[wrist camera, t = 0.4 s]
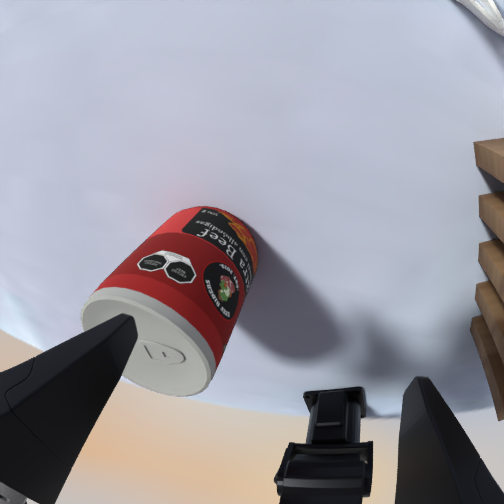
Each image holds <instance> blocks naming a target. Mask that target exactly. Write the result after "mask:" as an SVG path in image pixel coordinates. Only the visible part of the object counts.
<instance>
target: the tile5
mask: <svg viewBox="0 0 504 504" xmlns="http://www.w3.org/2000/svg"><path fill="white" fill-rule="evenodd" d="M473 143H474V150H475V158H476V165H477V166H478V167H480V168H481V169H483V170H485V171H486V172H488V173H489V174H491V175H492V176H494V177H495V178H497V179H498V180H500V181H501V182H502V183H504V138H500V139H492V140H485V141H478V142H473Z"/></svg>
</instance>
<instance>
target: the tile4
mask: <svg viewBox="0 0 504 504" xmlns="http://www.w3.org/2000/svg"><path fill="white" fill-rule="evenodd" d="M479 217H480V218H481V219H482V220H483V221H484V222H485V223H486V224H487V225H488V226H489V228H490V229H491V230H492V231H493V232H494V233H495V234H496V235H497V236H498V238H499V239H500V240H501V241H502V242H503V243H504V191H500V192H495V193H490V194H485V195H479Z"/></svg>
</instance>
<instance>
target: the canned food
mask: <svg viewBox="0 0 504 504" xmlns="http://www.w3.org/2000/svg"><path fill="white" fill-rule="evenodd" d="M257 263H258V257H257V249H256V245H255V241H254V238H253V237H252V235H251V233H250V231H249V230H248V229H247V227H246V226H245V225H244V224H243V223H242V222H241V221H240V220H239V219H237V218H236V217H235V216H233V215H232V214H230V213H228V212H226V211H224V210H221V209H218V208H214V207H208V206H198V207H193V208H189V209H185V210H182V211H180V212H178V213H176V214H174V215H173V216H172V217H171V218H169V219H168V220H167V221H166V222H165V223H164V224H163V225H162V226H160V227H159V228H158V229H157V230H156V231H155V232H154V233H153V234H152V235H151V236H150V237H149V238H147V239H146V240H145V241H144V242H143V243H142V244H141V245H140V246H139V247H138V248H137V249H136V250H135V251H134V252H133V253H132V254H131V255H130V256H129V257H127V258H126V259H125V260H124V261H123V262H122V263H121V264H120V265H119V266H118V267H117V268H116V269H115V270H114V271H113V272H112V273H111V274H110V275H109V276H108V277H107V278H106V279H105V280H104V281H103V282H102V283H101V284H100V286H99V287H98V288H97V289H96V290H95V291H94V292H93V293H92V294H91V295H90V297H89V299H88V300H87V301H86V303H85V304H84V306H83V308H82V310H81V322H82V327H83V330H84V332H85V331H87V330H89V329H91V328H93V327H95V326H97V325H99V324H101V323H103V322H105V321H107V320H109V319H111V318H113V317H115V316H117V315H119V314H121V313H125V314H128V315H131V316H133V317H134V319H135V323H136V327H137V331H138V339H137V342H136V344H135V346H134V348H133V351H132V353H131V355H130V357H129V360H128V362H127V364H126V367H125V369H124V371H123V373H122V376H124V377H125V378H127V379H128V380H130V381H132V382H133V383H135V384H137V385H139V386H142V387H144V388H146V389H149V390H151V391H154V392H157V393H161V394H165V395H170V396H192V395H196V394H198V393H201V392H203V391H204V390H205V389H206V388H207V387H208V385H209V383H210V381H211V380H212V379H213V377H214V374H215V372H216V370H217V367H218V365H219V363H220V361H221V358H222V356H223V353H224V351H225V348H226V346H227V343H228V341H229V338H230V336H231V333H232V331H233V328H234V326H235V323H236V321H237V318H238V316H239V313H240V311H241V308H242V305H243V303H244V300H245V298H246V295H247V293H248V290H249V288H250V285H251V283H252V280H253V277H254V275H255V272H256V270H257Z"/></svg>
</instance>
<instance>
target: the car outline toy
mask: <svg viewBox="0 0 504 504" xmlns="http://www.w3.org/2000/svg"><path fill="white" fill-rule="evenodd" d="M456 1H458V2H459V3H461V4H463V5H464V6H465V7H467V8H468V9H469V10H470V11H471V12H472V13H473V14H474V15H476V16H477V17H478V18H479V19H480V20H481V21H482V22H483V23H484V24H485V25H487V26H488V27H489V28H491V29H492V30H494V31H495V32H497V33H498V34H500V35H502V36H503V37H504V19H503V17H502V16H501V14H500V12H499V10H498V9H497V7H496V5H495V4H494V2H493V0H480V2H481V4H482V5H483V7H484V8H485V9H484V8H483V7H482V6H481V5H479V4H478V3H477V2H476V1H475V0H456Z"/></svg>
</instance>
